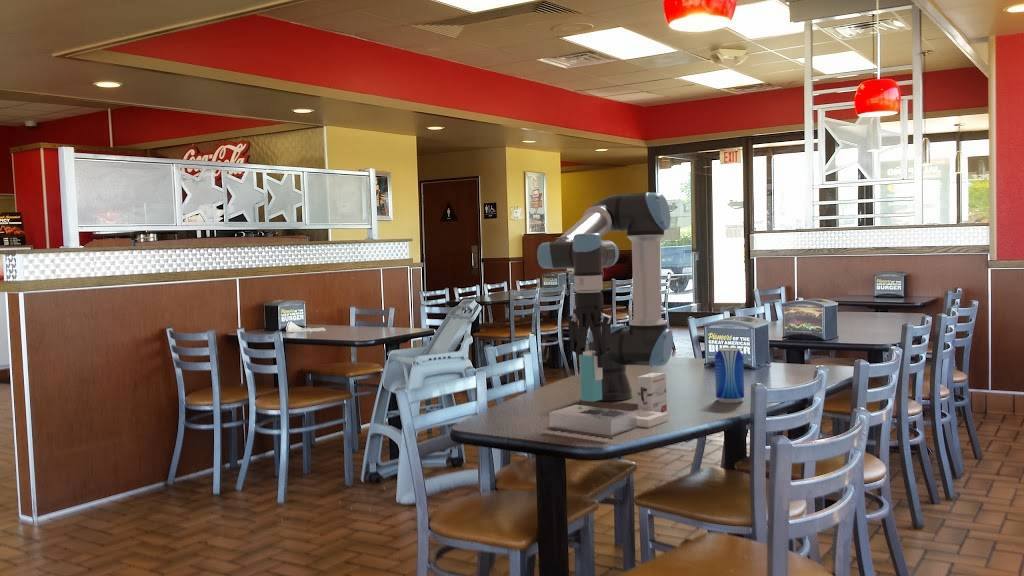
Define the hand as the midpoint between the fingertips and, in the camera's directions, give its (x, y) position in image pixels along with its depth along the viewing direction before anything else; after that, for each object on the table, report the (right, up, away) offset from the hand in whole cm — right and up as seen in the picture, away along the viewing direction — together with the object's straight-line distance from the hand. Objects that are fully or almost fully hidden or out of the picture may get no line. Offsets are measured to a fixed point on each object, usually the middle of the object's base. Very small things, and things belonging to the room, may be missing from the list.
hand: (591, 378), depth 232 cm
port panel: (+1, -14, +1) cm, 14 cm away
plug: (0, -6, 0) cm, 6 cm away
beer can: (+46, -11, +35) cm, 58 cm away
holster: (+15, -13, +5) cm, 20 cm away
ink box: (+19, -12, +18) cm, 29 cm away
